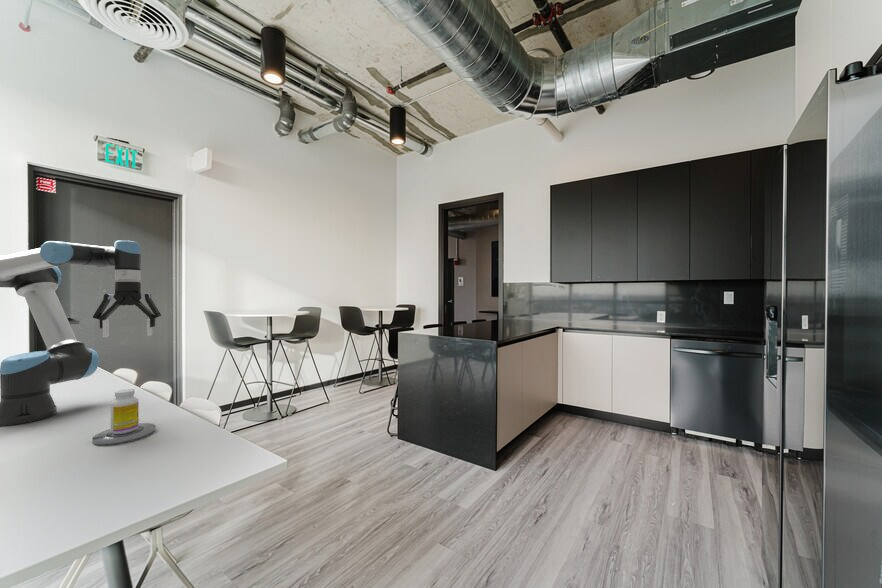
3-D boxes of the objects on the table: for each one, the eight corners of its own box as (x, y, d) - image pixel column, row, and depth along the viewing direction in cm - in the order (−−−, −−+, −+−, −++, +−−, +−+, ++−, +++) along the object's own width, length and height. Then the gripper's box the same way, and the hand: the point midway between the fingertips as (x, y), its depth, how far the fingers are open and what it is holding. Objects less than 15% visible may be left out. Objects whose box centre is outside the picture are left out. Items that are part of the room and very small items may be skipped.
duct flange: (77, 445, 105) (77, 441, 105) (122, 426, 120) (122, 422, 120) (128, 445, 105) (128, 440, 105) (167, 426, 120) (167, 422, 120)
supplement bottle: (142, 429, 113) (142, 389, 113) (115, 436, 108) (115, 395, 108) (133, 425, 117) (133, 386, 117) (106, 432, 111) (107, 391, 111)
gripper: (80, 280, 128) (80, 339, 128) (163, 281, 137) (163, 335, 137) (92, 281, 135) (92, 336, 135) (170, 281, 144) (170, 333, 144)
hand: (128, 336), depth 136 cm, fingers open, 13 cm apart
